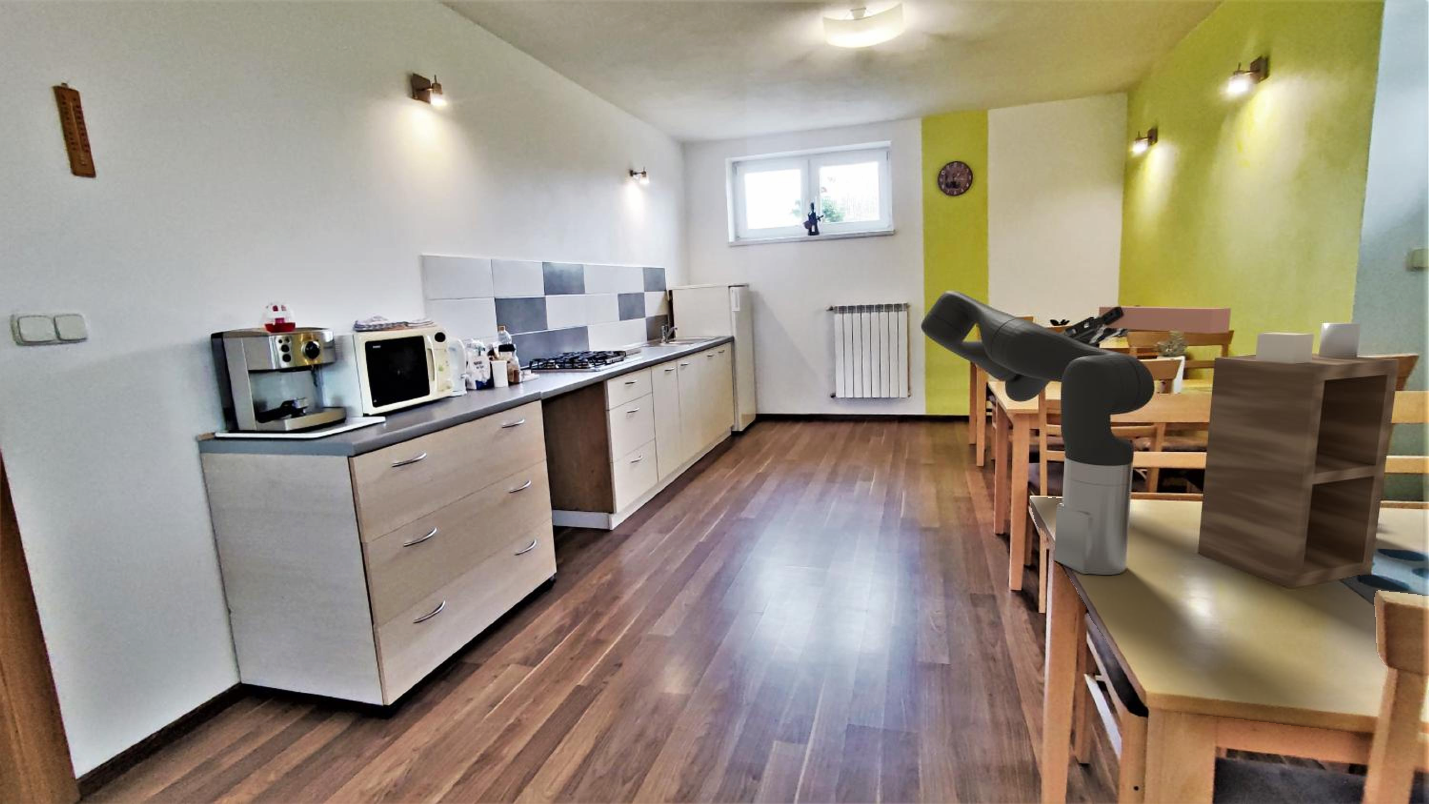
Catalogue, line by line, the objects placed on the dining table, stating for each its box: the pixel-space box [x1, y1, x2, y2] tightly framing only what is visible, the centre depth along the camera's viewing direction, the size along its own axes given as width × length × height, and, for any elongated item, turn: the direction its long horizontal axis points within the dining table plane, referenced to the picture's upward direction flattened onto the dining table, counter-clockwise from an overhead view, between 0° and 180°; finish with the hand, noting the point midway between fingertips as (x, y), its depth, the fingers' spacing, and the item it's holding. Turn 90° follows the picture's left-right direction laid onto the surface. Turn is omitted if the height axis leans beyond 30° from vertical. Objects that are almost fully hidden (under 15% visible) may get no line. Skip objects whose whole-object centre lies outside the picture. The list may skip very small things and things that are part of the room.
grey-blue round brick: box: [1318, 322, 1362, 359], centre depth 99 cm, size 4×4×5 cm
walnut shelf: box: [1197, 352, 1400, 590], centre depth 102 cm, size 16×14×32 cm
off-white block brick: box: [1255, 331, 1315, 364], centre depth 96 cm, size 4×5×4 cm
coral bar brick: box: [1098, 305, 1232, 334], centre depth 121 cm, size 4×23×4 cm, turn 15°
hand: (1130, 310), depth 127 cm, fingers closed on coral bar brick, 4 cm apart
